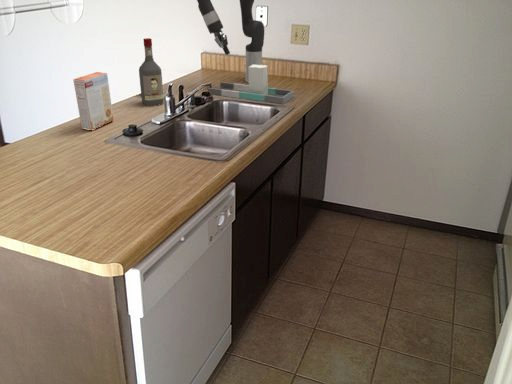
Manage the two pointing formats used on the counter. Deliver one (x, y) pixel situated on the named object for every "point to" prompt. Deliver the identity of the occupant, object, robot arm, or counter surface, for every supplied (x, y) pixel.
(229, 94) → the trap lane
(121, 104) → the counter surface
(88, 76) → the cracker box
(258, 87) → the skincare box
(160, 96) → the liquor
